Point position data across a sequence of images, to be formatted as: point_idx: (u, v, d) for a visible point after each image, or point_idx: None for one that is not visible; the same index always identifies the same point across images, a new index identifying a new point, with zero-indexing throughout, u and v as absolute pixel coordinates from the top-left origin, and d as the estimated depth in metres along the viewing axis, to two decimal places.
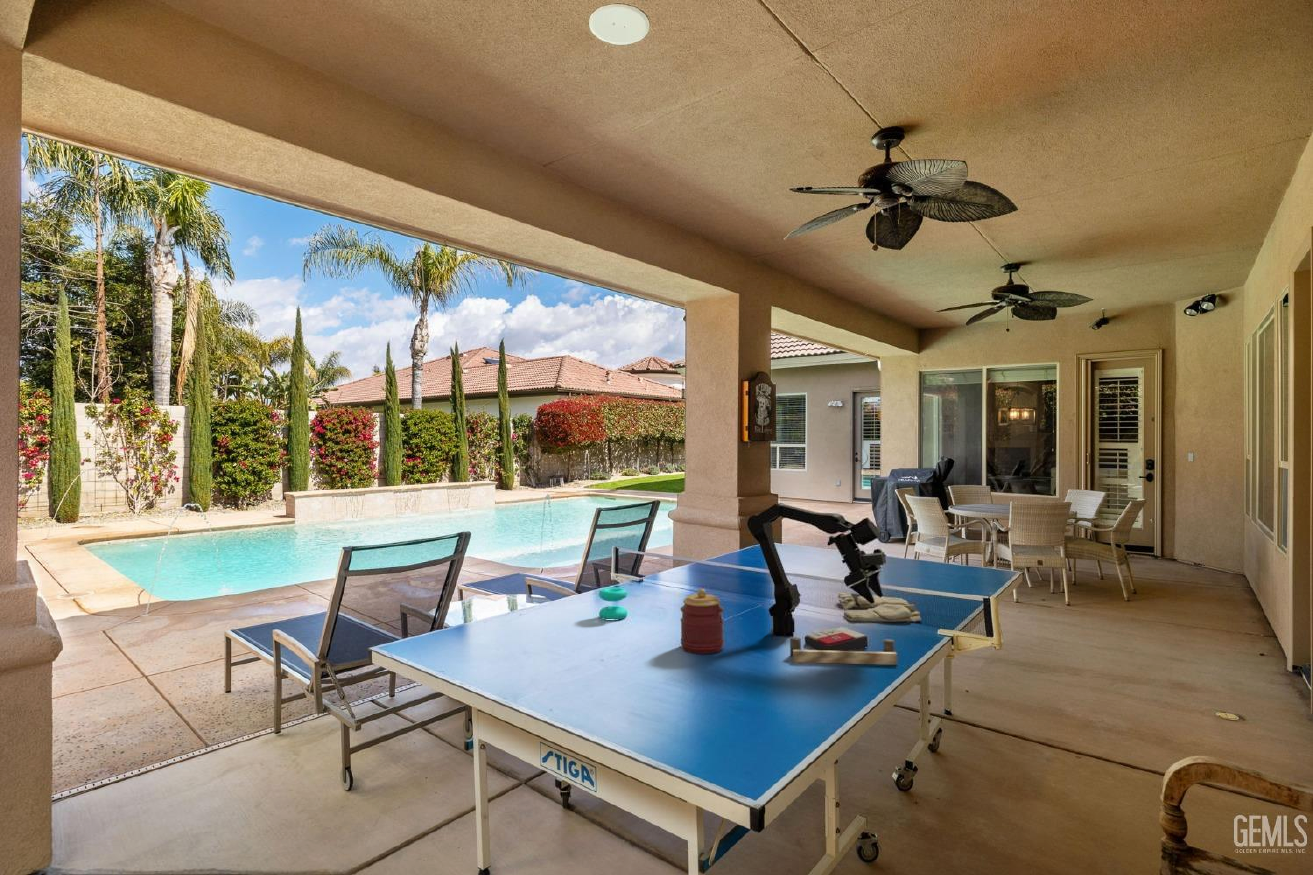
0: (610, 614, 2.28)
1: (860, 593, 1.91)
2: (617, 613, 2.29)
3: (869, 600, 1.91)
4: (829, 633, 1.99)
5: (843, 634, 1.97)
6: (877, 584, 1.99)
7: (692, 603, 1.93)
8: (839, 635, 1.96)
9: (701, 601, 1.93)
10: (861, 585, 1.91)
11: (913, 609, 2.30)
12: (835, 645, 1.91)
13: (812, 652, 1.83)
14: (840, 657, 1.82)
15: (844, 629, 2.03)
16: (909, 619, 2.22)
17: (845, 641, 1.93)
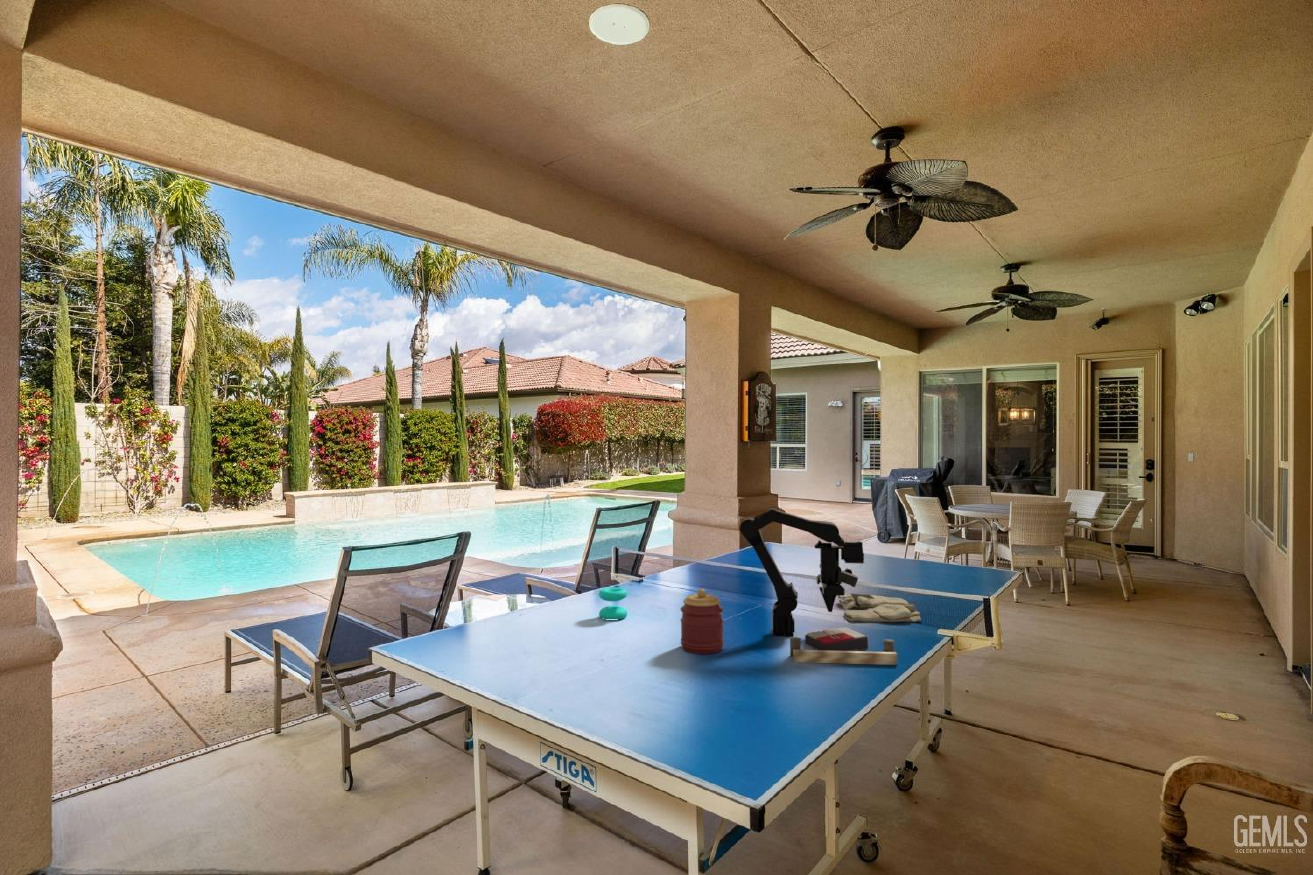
0: (610, 614, 2.28)
1: (825, 600, 2.07)
2: (617, 613, 2.29)
3: (829, 608, 2.07)
4: (829, 632, 2.00)
5: (843, 634, 1.97)
6: None
7: (692, 603, 1.93)
8: (839, 635, 1.97)
9: (701, 601, 1.93)
10: None
11: (913, 609, 2.30)
12: (833, 644, 1.91)
13: (812, 652, 1.83)
14: (840, 657, 1.82)
15: (846, 629, 2.03)
16: (909, 619, 2.22)
17: (843, 641, 1.93)
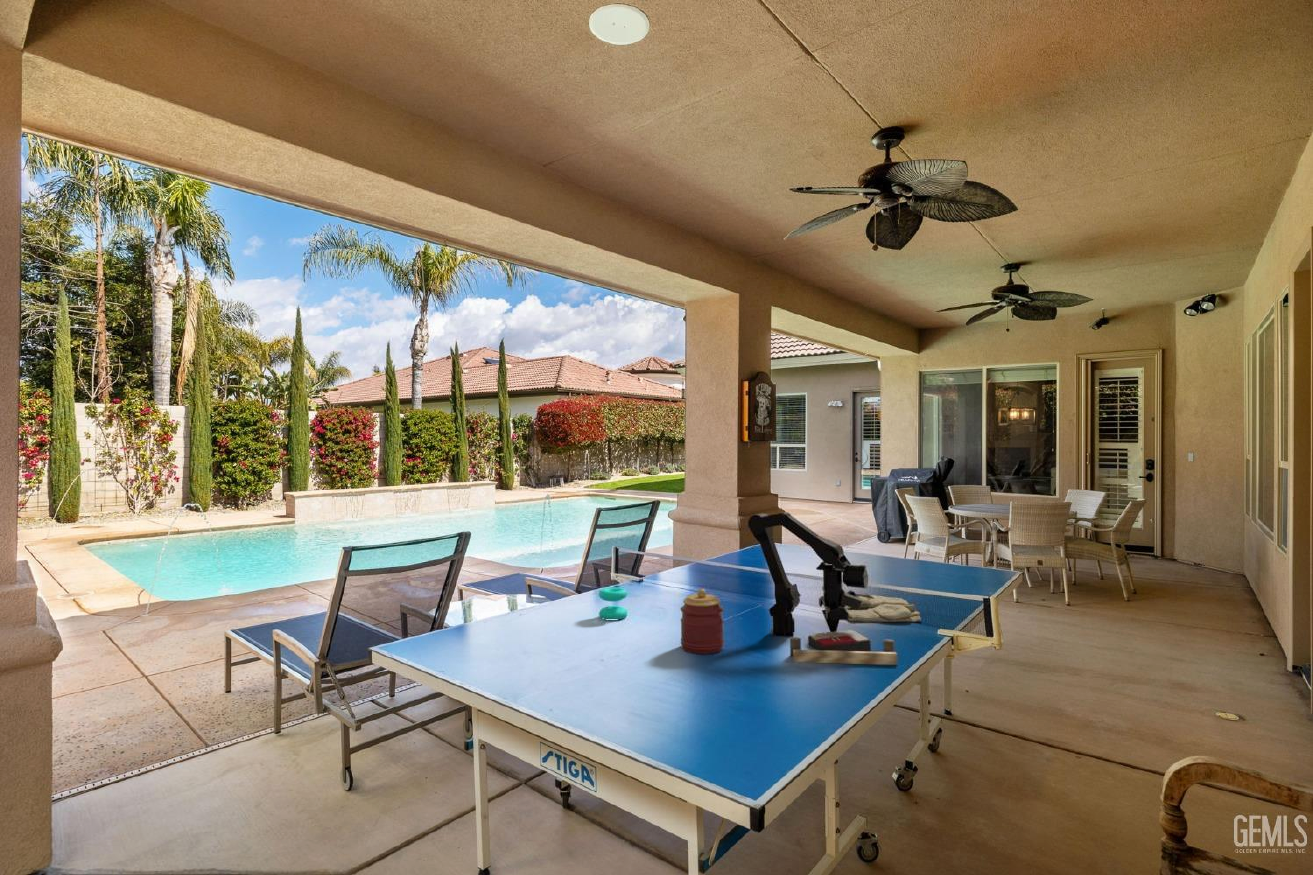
0: (610, 614, 2.28)
1: (829, 623, 2.02)
2: (617, 613, 2.29)
3: None
4: (832, 634, 1.98)
5: (846, 636, 1.95)
6: None
7: (692, 603, 1.93)
8: (841, 637, 1.94)
9: (701, 601, 1.93)
10: None
11: (913, 609, 2.30)
12: (832, 646, 1.90)
13: (812, 652, 1.83)
14: (840, 657, 1.82)
15: (852, 631, 2.00)
16: (909, 619, 2.22)
17: (844, 643, 1.91)
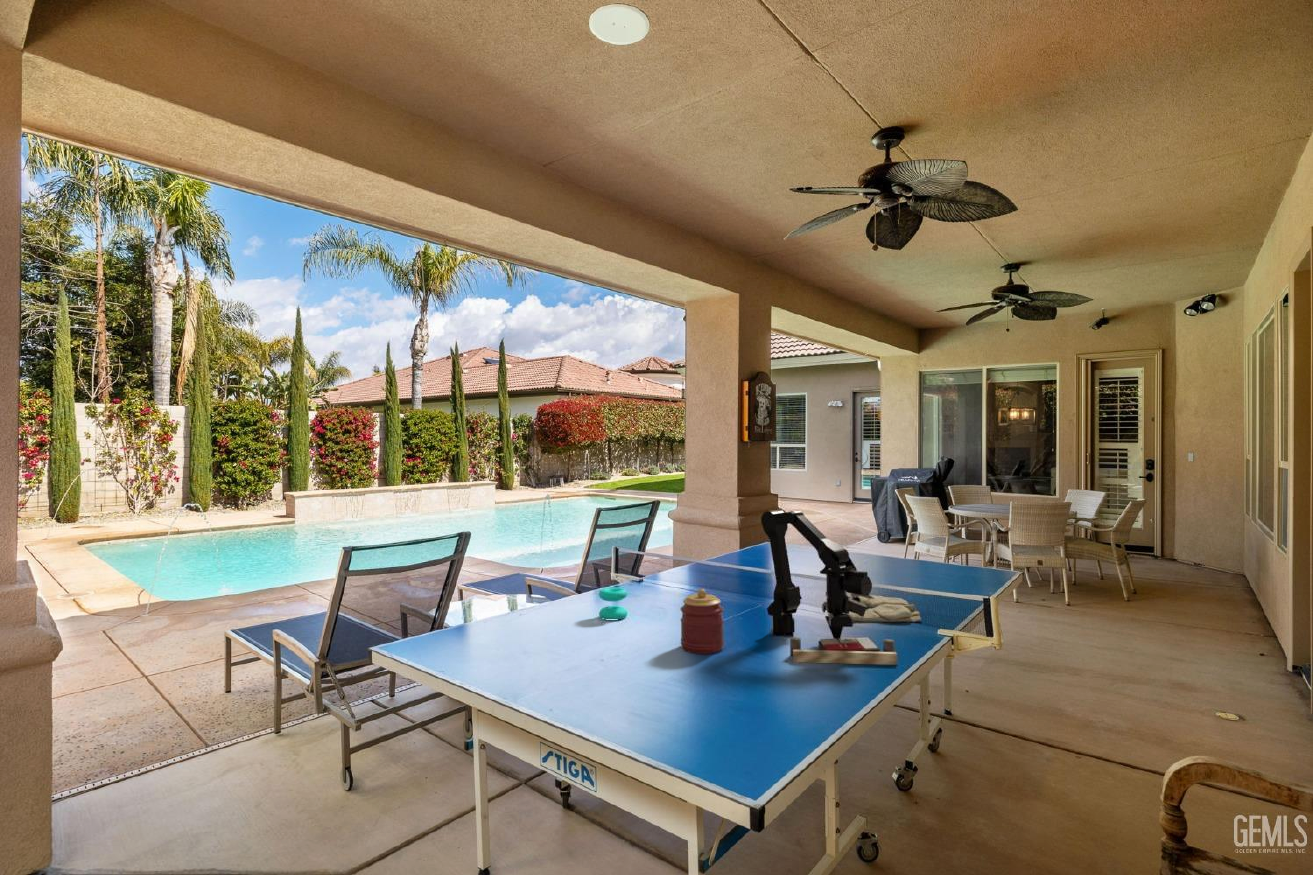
0: (610, 614, 2.28)
1: (832, 630, 1.94)
2: (617, 613, 2.29)
3: None
4: (843, 640, 1.91)
5: (855, 643, 1.88)
6: None
7: (692, 603, 1.93)
8: (849, 644, 1.88)
9: (701, 601, 1.93)
10: None
11: (913, 609, 2.30)
12: None
13: (812, 652, 1.83)
14: (840, 657, 1.82)
15: (866, 639, 1.92)
16: (909, 619, 2.22)
17: (850, 650, 1.84)
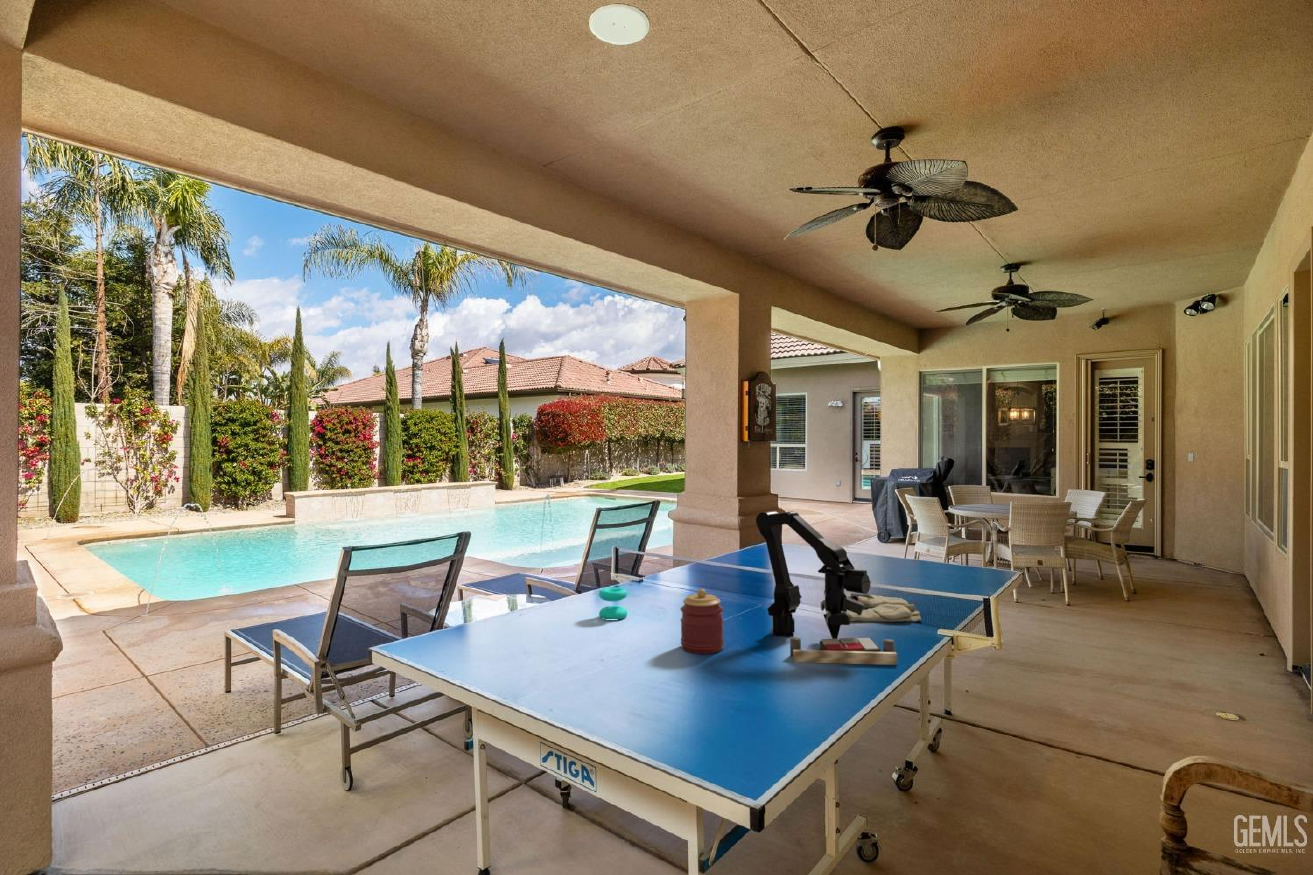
0: (610, 614, 2.28)
1: (830, 628, 1.97)
2: (617, 613, 2.29)
3: (833, 637, 1.98)
4: (844, 640, 1.91)
5: (856, 644, 1.88)
6: None
7: (692, 603, 1.93)
8: (850, 644, 1.87)
9: (701, 601, 1.93)
10: None
11: (913, 609, 2.30)
12: None
13: (812, 652, 1.83)
14: (840, 657, 1.82)
15: (867, 639, 1.92)
16: (909, 619, 2.22)
17: (850, 650, 1.84)
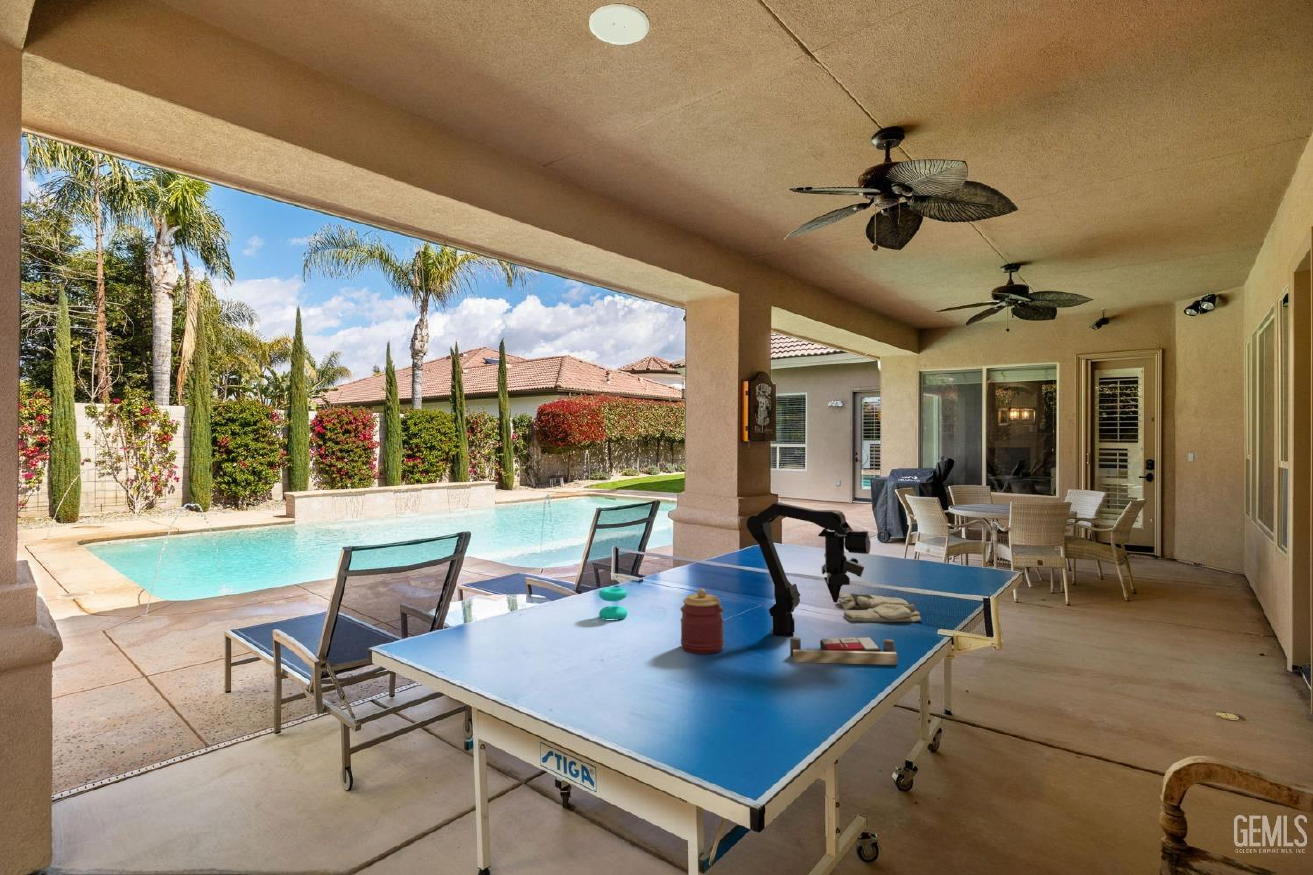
0: (610, 614, 2.28)
1: (830, 590, 2.01)
2: (617, 613, 2.29)
3: (834, 599, 2.02)
4: (844, 640, 1.91)
5: (856, 644, 1.88)
6: None
7: (692, 603, 1.93)
8: (851, 644, 1.88)
9: (701, 601, 1.93)
10: None
11: (913, 609, 2.30)
12: None
13: (812, 652, 1.83)
14: (840, 657, 1.82)
15: (868, 639, 1.92)
16: (909, 619, 2.22)
17: (850, 650, 1.84)
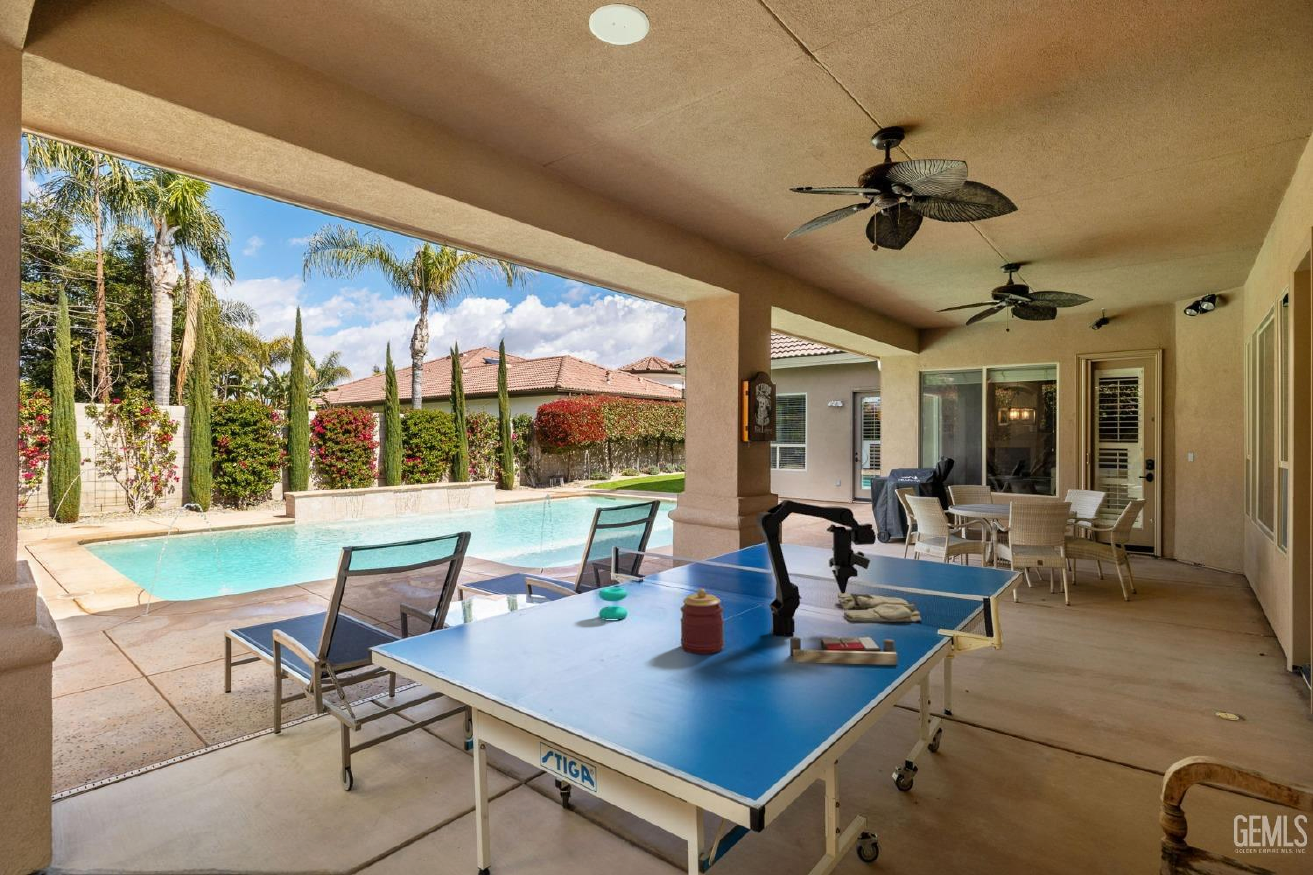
0: (610, 614, 2.28)
1: (838, 582, 2.13)
2: (617, 613, 2.29)
3: (841, 590, 2.13)
4: (845, 640, 1.92)
5: (857, 643, 1.88)
6: None
7: (692, 603, 1.93)
8: (851, 644, 1.88)
9: (701, 601, 1.93)
10: None
11: (913, 609, 2.30)
12: None
13: (812, 652, 1.83)
14: (840, 657, 1.82)
15: (868, 639, 1.92)
16: (909, 619, 2.23)
17: (851, 650, 1.84)
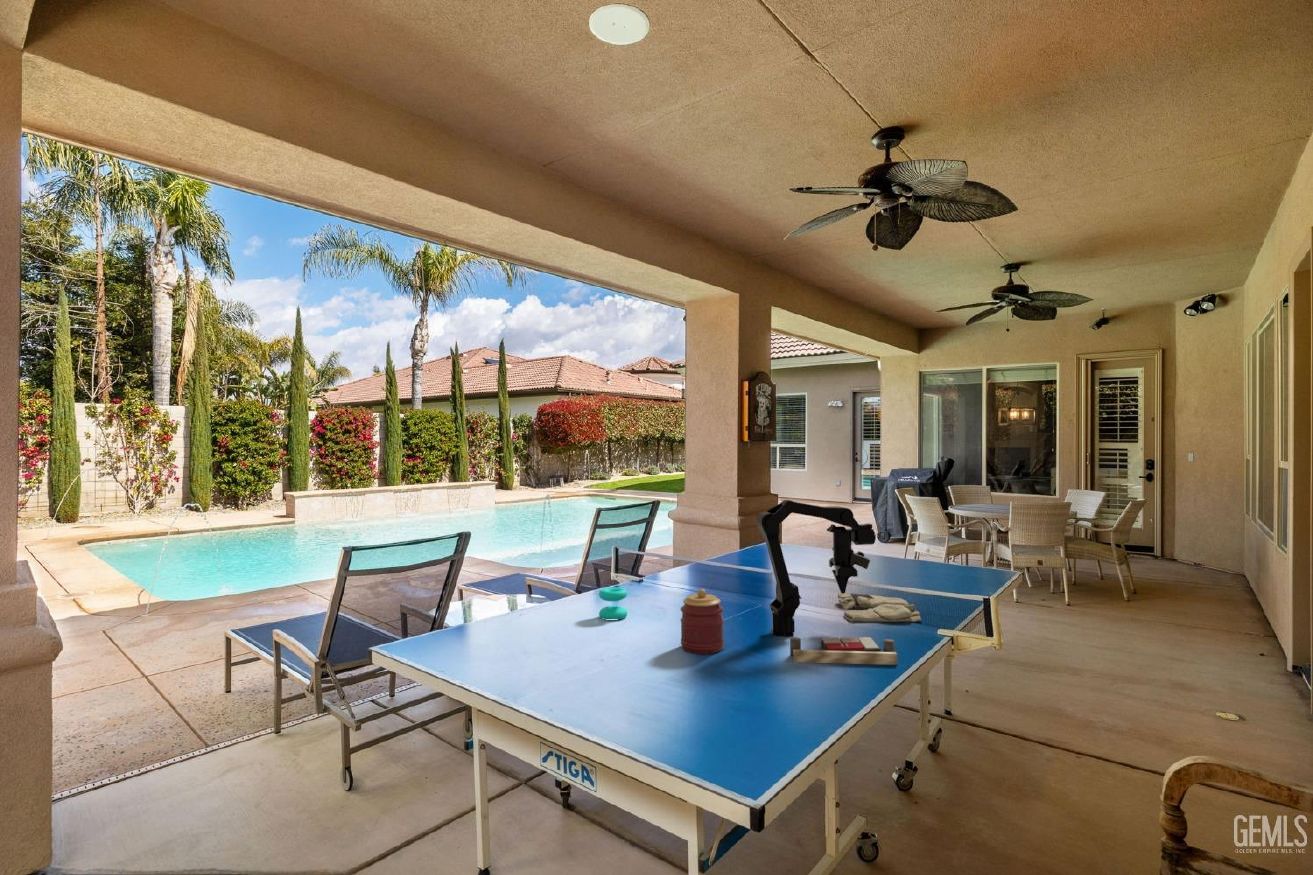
0: (610, 614, 2.28)
1: (838, 582, 2.13)
2: (617, 613, 2.29)
3: (841, 590, 2.13)
4: (845, 640, 1.92)
5: (857, 643, 1.88)
6: None
7: (692, 603, 1.93)
8: (851, 643, 1.88)
9: (701, 601, 1.93)
10: None
11: (913, 609, 2.30)
12: None
13: (812, 652, 1.83)
14: (840, 657, 1.82)
15: (868, 639, 1.92)
16: (909, 619, 2.23)
17: (851, 650, 1.85)
